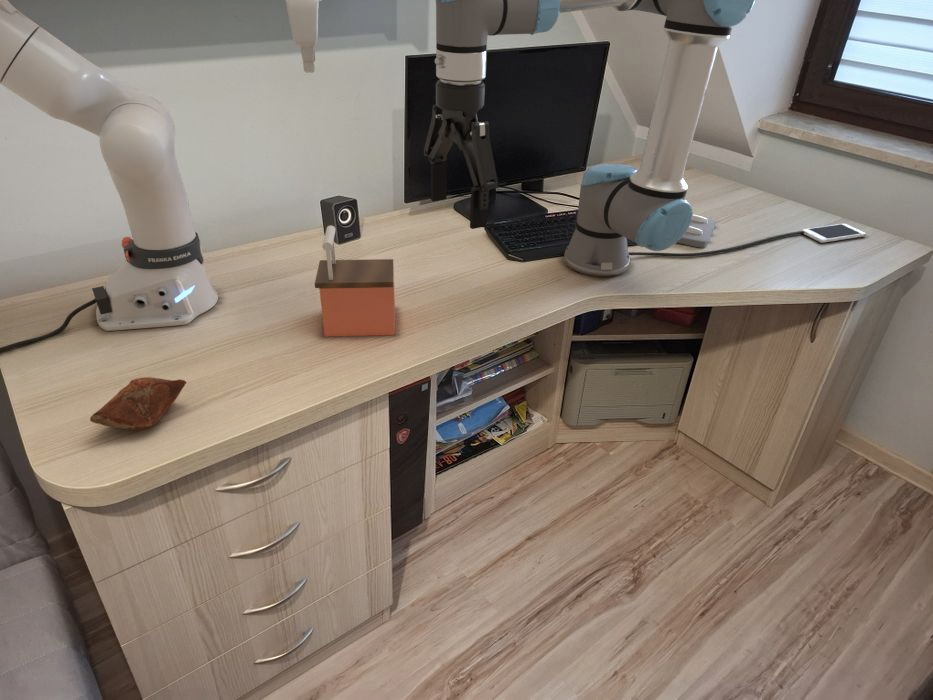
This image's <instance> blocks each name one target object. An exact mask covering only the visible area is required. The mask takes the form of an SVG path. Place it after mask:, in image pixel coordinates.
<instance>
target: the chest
mask: <svg viewBox="0 0 933 700" xmlns="http://www.w3.org/2000/svg"><path fill="white" fill-rule="evenodd" d="M394 269H395V268H394V265H393V287H356V288H318V289H319V297H320V298H319V299H320V307H321V316H322V324H323V325H322V326H323V333H324V335H323V336H324V337H326V338H327V337H355V336H356V337H361V336H364V337H366V336H395V335H396V295H395V271H394Z"/></svg>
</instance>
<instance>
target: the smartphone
mask: <svg viewBox="0 0 933 700" xmlns="http://www.w3.org/2000/svg"><path fill="white" fill-rule="evenodd" d="M801 231H804V233H803V235H805V236H807V237H808V238H811V239H813V240H815V241H816V242H819V243H820V244H821V243H823V244H824V243H829V242H835V241H842V240H849V239H855V238H861V237H865V236H866V232H864V231H863V230H860V229H858V228H856V227H853V226H851V225H849V224H847V223H837V224H831V225H824V226H823V225H822V226H818V227H817V226H816V227H810V228H803V229H801Z"/></svg>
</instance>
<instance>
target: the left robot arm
mask: <svg viewBox="0 0 933 700" xmlns="http://www.w3.org/2000/svg"><path fill="white" fill-rule="evenodd" d="M322 1H323V0H285V5H286V11H287V15H288V21H289V26H290V31H291V36H292V39H293V42H294V45H295V46H296V47H300V52H301V53H300V54H301V58H302V64H303V71H304V72H305V73H306V74H307V73H308V74H309V73H312V74H313V73H314V72H315V69H316V67H315V61H316V52H315V50H316V49H315V47H317V45H318V40H319V7H320V2H322ZM0 85H1V86H3V87H4V88H6V89H7V90H8V91H11V92H12V93H14V94H15V95H16V96H18V97H20V98H21V99H23V100H24V101H26V102H28V103H29V104H30V105H32V106H34V107H36V108H37V109H39V110H40V111H42V112H43V113H45V114H46V115H48V116H49V117H51V118H53V119H56V120H59V121H63V122H67V123H70V124H71V125H74V126H76V127H79V128H81V129H83V130H84V131H87V132H89V133H92V134H93V135H95V136H97V137H99V140H98V141H99V147H100V148H99V149H100V152H101V155H102V158H103V160H104V163H105V165H106V167H107V169H108V172H109V175H110V178H111V181H112V182H113V184H114V186H115V187H114V188H115V189H116V191H117V193H118V195H119V198H120V201H121V203H122V206H123V209H124V213H125V216H126V221H127V224H128V227H129V230H130V233H131V237H129V236H125V237H123V238H122V240H121V247H122V248H123V253H124V257H125V260H126V261H125V262H123V264H122V265H121V266H119V267H118V268H117V269H116V270H115V271H114V272H113V273H111V274H110V275H109V277H108V278H107V280H106V282H105V286H104V285H102V286H96V287H92V288H91V291H92V293H93V297H94V298H93V299H91V300H90V301H87V302H86V303H84V304H82V305H80V306H78V307H76V308H75V309H73V310H72V311H71V312H70V313H69V314H68V315H67V316H66V318H65V320H64V322H63V324H62V325H60V326H59V327H57V329H55V330H53V331H51V332H49V333H46V334H44V335H41V336H38V337H33V338H28V339H25V340H20V341H18V342H14V343H11V344H7V345H5V346H1V347H0V353H3V352H5V351H8V350H11V349H15V348H19V347H23V346H27V345H29V344H34V343H38V342H41V341H43V340H46V339H50V338H52V337H54V336H56V335H58V334H60V333H62V332H63V331H65V329H66V328H67V327H68V326H69V324H70V322H71V320H72V319H73V318H74V317H75V316H76V315H78V314H79V313H80V312H82V311H84V310H85V309H87V308H89V307H92V306H93V305H95V304H96V305H97V307H96V309H95V317H96V322H97V324H98V326H99V327H100V328H101V329H102V330H103V331H106V332H111V331H112V332H113V331H125V330H137V329H139V330H140V329H151V328H164V327H174V326H184V325H188V324H190V323H191V322H192V321H194V319H195V318H197V317H198V316H200V315H202V314H204V313H206V312H208V311H209V310H211V309H212V308H213V307H214V306H215V305H216V304H217V303H218V300H219V295H218V292H217V291H216V290H215V288H214V286H213V284H212V282H211V280H210V278H209V274H208V272H207V270H206V267H205V264H204V258H205V257H204V256H205V255H204V251H203V246H202V241H201V239H200V237H199V234H198V232H197V231H196V230H195V229H196V228H195V225H194V224H195V223H194V219H193V216H192V211H191V207H190V201H189V198H188V197H189V196H188V194H187V192H186V189H185V186H184V182H183V178H182V176H181V171H180V168H179V164H178V160H177V155H176V149H175V139H176V125H175V122H174V119H173V117H172V115H171V112H169V110H168V109H167V108H166V106H164V104H162V102H160V101H158V99H156V98H154V97H152V96H149V95H148V94H146V93H144V92H143V91H141V90H140V89H138V88H136V87H134V86H133V85H131V84H129V83H128V82H126V81H125V80H123V79H121V78H119V77H117V76H116V75H114V74H112V73H110V72H109V71H107V70H104V69H102V68H101V67H99V66H98V65H96V64H94V63H93V62H91V61H90V60H88V59H87V58H85V57H84V56H83V55H81V54H80V53H78V52H76V51H75V50H74V49H73V48H71V47H70V46H68V45H67V44H65V43H64V42H62V41H61V40H60V39H59V38H57V37H56V36H55V35H53V34H51V33H50V32H48V31H47V30H46V29H44V28H43V27H42V26H40V25H39V24H37V23H36V22H34V21H33V20H32V19H30V18H29V17H27V15H25V14H23V13H22V12H20V11H19V10H18V9H17V8H16V7H14V5H13V4H12V3H10V1H9V0H0Z"/></svg>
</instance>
